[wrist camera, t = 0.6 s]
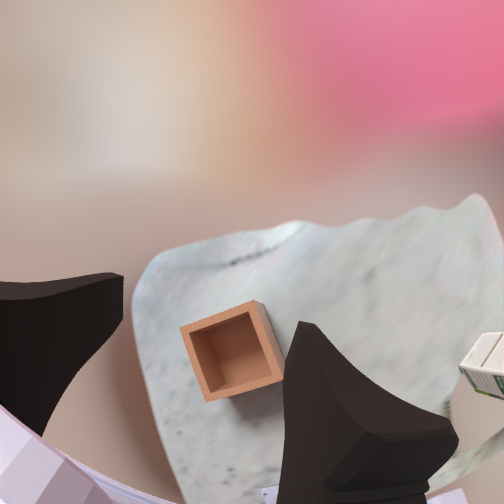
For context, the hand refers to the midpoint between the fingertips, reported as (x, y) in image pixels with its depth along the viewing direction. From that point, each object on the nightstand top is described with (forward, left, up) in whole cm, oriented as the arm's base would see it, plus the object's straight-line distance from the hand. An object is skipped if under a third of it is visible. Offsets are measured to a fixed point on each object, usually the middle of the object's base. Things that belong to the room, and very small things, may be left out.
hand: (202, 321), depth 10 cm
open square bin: (-2, +4, -21) cm, 22 cm away
